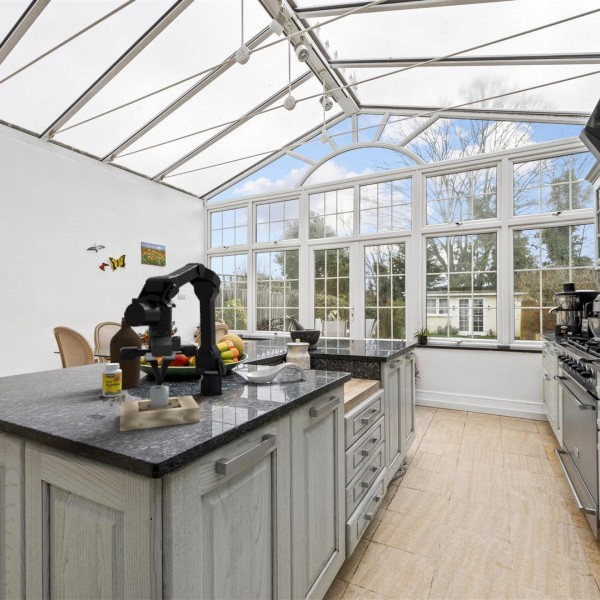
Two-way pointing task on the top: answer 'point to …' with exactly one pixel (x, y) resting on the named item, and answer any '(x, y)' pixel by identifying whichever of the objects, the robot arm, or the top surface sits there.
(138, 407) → the jig plate
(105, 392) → the supplement bottle
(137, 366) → the olive oil
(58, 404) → the top surface
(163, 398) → the cylinder
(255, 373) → the spoon rest
